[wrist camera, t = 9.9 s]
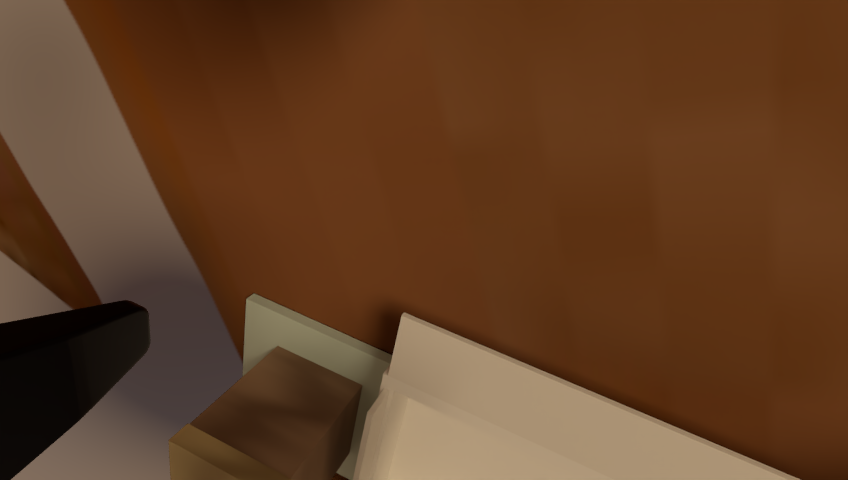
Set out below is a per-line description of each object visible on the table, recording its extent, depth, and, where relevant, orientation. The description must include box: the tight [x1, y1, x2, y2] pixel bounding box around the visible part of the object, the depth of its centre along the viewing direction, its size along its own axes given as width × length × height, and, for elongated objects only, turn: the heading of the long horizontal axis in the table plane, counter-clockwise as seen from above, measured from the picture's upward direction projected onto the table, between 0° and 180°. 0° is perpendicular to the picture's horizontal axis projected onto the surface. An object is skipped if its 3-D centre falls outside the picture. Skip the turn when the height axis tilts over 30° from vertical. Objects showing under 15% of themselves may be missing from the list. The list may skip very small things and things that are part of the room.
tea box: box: [169, 346, 362, 480], centre depth 24 cm, size 5×5×7 cm
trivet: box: [242, 294, 392, 480], centre depth 27 cm, size 9×9×1 cm
